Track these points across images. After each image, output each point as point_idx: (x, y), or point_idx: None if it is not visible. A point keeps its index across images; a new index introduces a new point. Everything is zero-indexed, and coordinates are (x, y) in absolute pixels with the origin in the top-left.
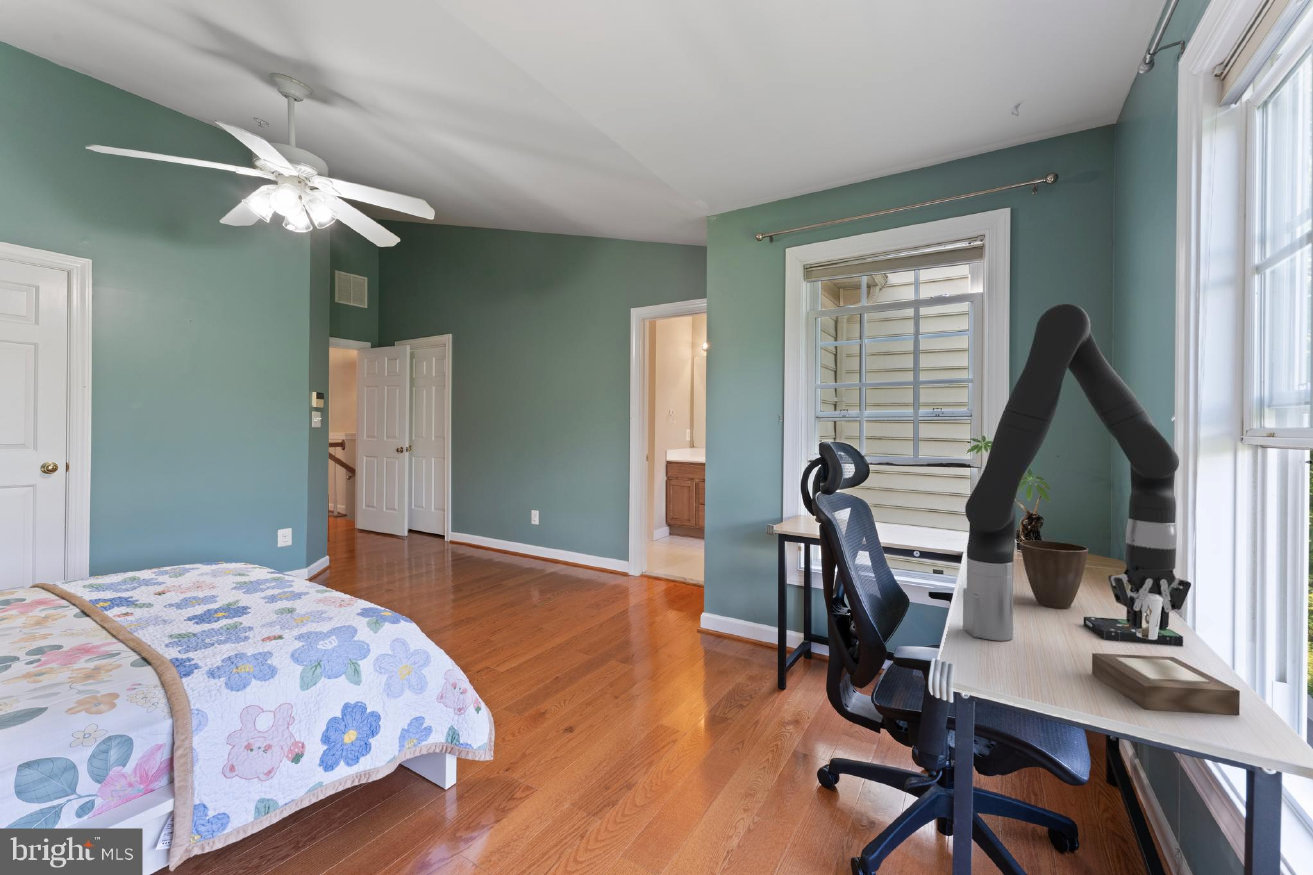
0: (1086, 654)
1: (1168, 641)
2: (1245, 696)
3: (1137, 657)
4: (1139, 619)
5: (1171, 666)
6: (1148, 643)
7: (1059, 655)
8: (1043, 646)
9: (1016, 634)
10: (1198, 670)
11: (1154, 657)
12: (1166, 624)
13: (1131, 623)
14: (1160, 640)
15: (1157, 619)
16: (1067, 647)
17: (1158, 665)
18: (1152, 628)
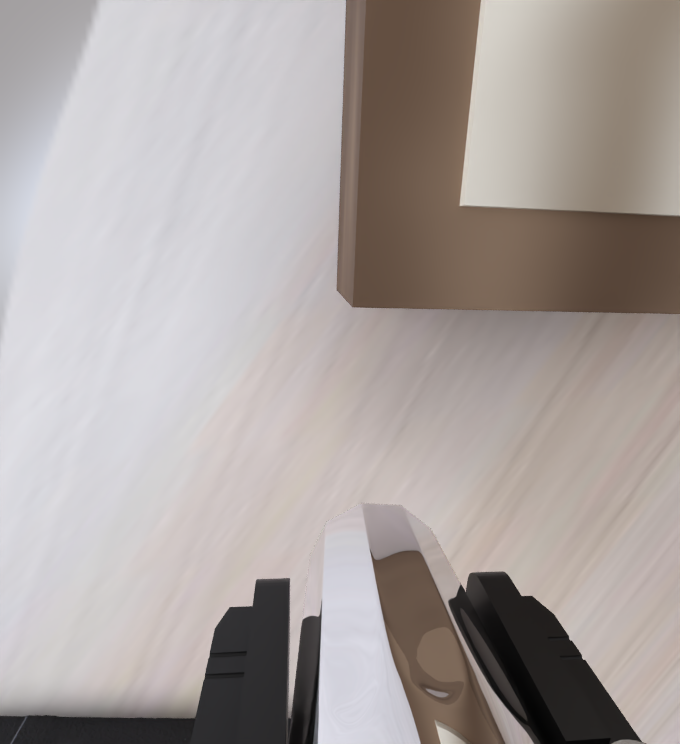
0: (543, 536)
1: (36, 736)
2: (98, 50)
3: (615, 266)
4: (520, 641)
5: (557, 55)
6: (136, 718)
7: (676, 504)
8: (662, 595)
9: (668, 704)
10: (378, 19)
11: (497, 280)
12: (235, 633)
13: (546, 612)
14: (73, 739)
15: (376, 635)
16: (564, 603)
17: (635, 75)
18: (399, 557)
